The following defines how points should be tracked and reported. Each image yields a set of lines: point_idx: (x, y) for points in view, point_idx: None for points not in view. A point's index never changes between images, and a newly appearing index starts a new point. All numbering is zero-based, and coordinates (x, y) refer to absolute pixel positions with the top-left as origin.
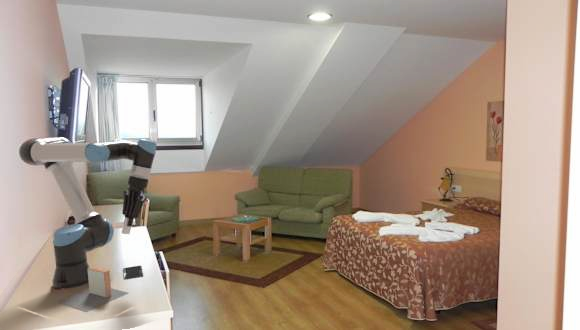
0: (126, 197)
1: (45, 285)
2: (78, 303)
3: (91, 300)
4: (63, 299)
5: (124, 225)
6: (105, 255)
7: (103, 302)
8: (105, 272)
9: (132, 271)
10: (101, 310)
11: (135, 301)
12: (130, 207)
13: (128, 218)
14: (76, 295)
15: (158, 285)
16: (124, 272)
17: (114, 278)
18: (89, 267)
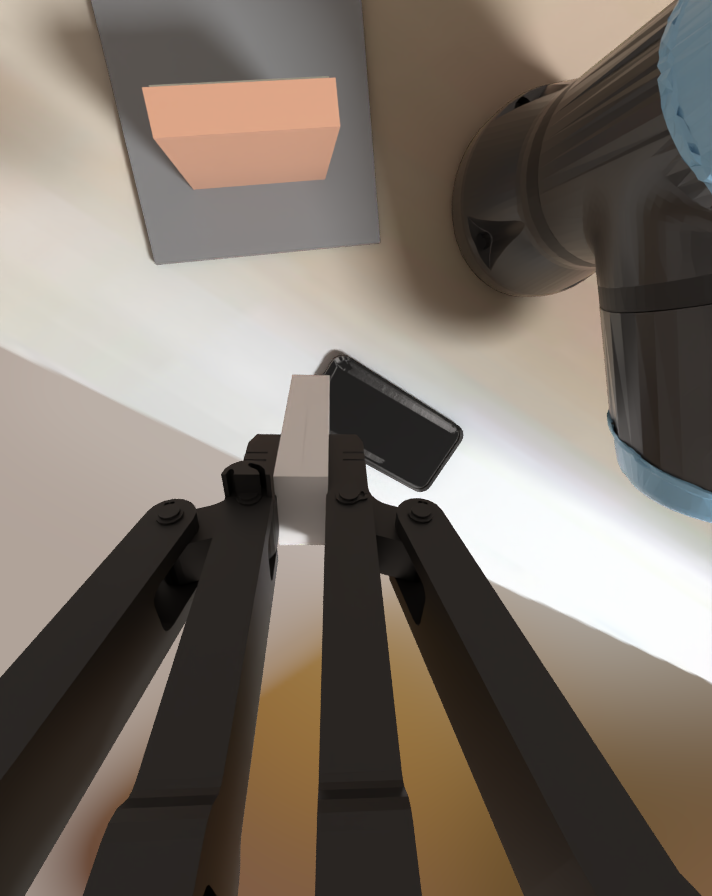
0: (563, 861)
1: None
2: (237, 17)
3: None
4: (357, 6)
5: (308, 416)
6: None
7: (139, 106)
8: (147, 101)
9: (396, 433)
10: (66, 46)
11: (43, 226)
12: (246, 629)
13: (275, 487)
14: (350, 85)
15: (149, 410)
16: (417, 406)
17: (405, 345)
18: (336, 97)
